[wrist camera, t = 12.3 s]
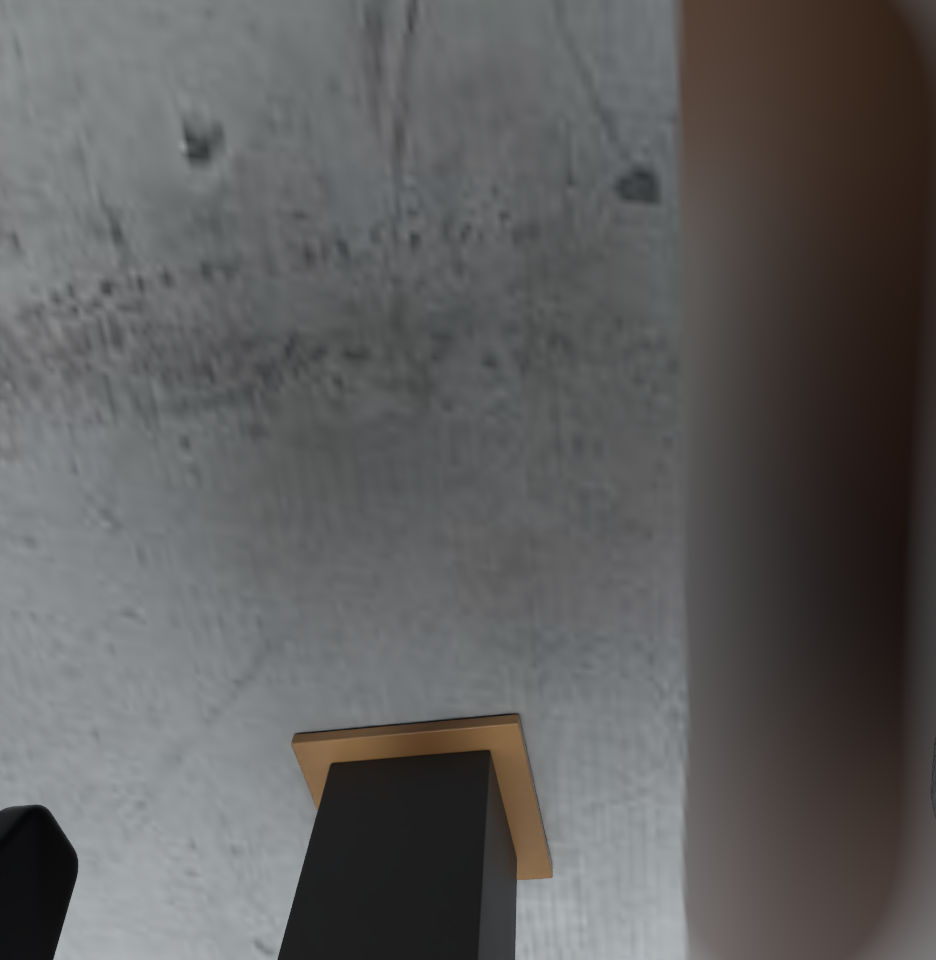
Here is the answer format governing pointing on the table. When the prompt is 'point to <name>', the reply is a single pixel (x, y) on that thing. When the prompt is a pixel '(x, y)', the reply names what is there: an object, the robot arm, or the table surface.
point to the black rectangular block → (407, 864)
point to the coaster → (443, 739)
